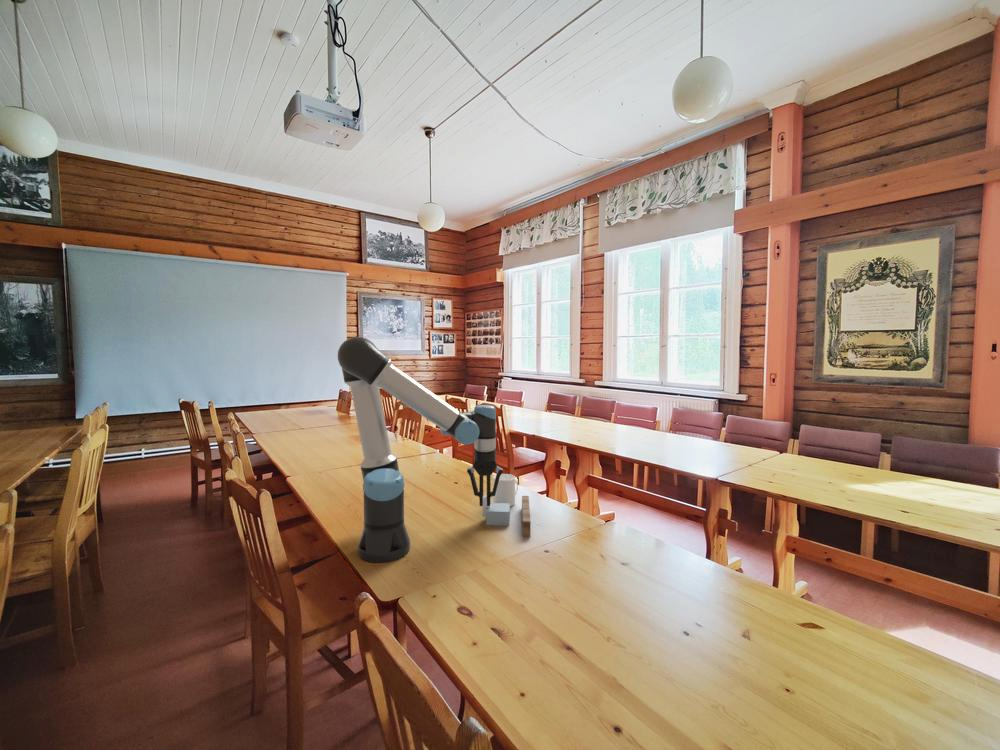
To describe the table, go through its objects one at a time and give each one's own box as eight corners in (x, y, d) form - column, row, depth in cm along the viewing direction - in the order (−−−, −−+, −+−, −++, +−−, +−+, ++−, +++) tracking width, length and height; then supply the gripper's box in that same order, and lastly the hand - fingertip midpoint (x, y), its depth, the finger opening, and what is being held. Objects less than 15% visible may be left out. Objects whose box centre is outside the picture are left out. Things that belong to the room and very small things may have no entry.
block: (509, 526, 147) (509, 511, 146) (486, 525, 147) (486, 511, 147) (509, 516, 155) (509, 503, 154) (487, 516, 155) (488, 502, 155)
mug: (525, 501, 170) (525, 475, 169) (503, 509, 161) (503, 481, 161) (510, 496, 176) (510, 470, 175) (488, 503, 168) (488, 476, 167)
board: (530, 536, 138) (530, 521, 138) (522, 536, 138) (522, 520, 138) (528, 508, 162) (528, 495, 162) (521, 508, 162) (521, 495, 162)
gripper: (503, 447, 153) (503, 511, 154) (467, 446, 153) (467, 510, 155) (503, 452, 145) (502, 519, 147) (465, 451, 146) (465, 518, 147)
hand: (484, 514), depth 151 cm, fingers closed
